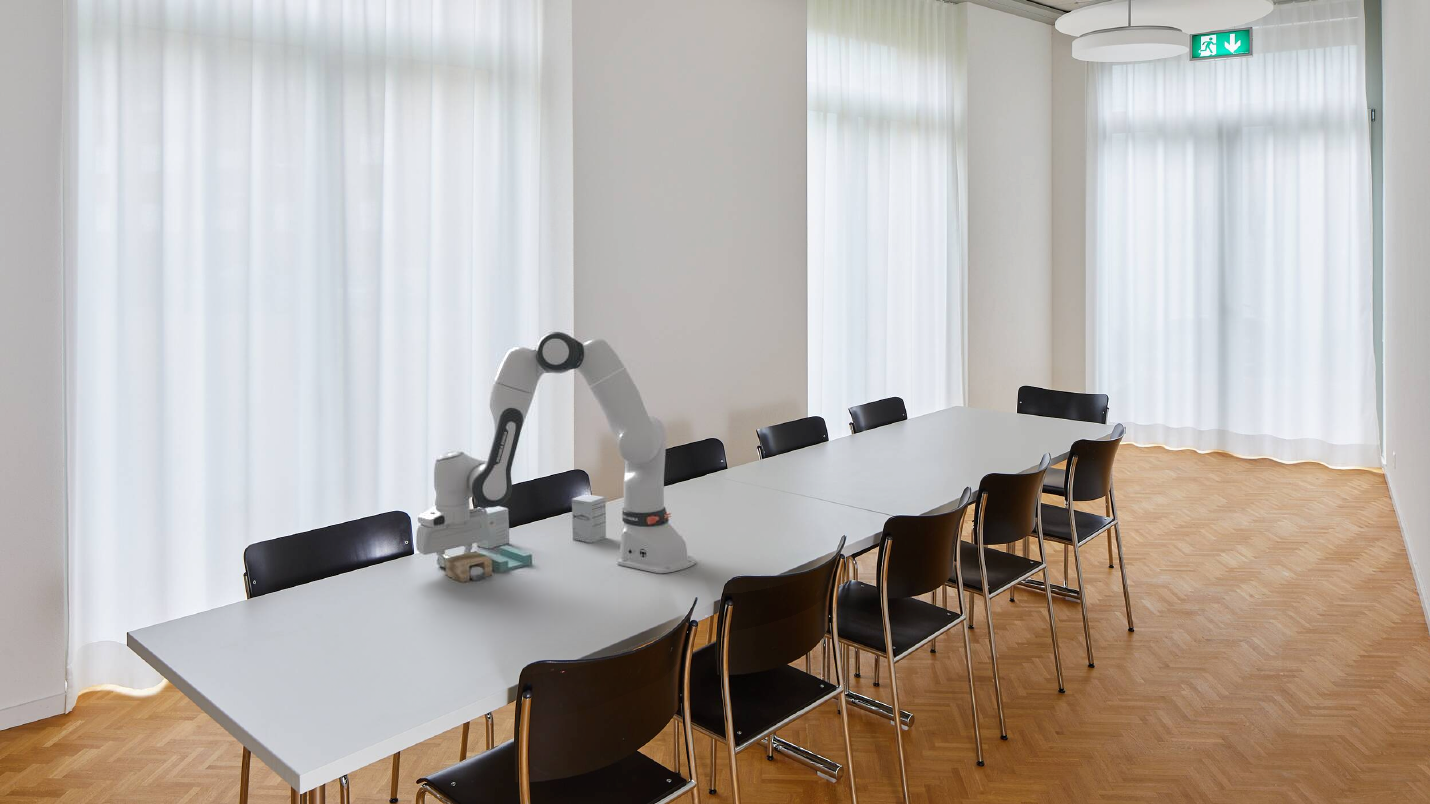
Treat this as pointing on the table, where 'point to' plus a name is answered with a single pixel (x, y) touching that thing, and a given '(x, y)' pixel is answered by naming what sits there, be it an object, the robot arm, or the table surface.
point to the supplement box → (589, 518)
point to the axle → (474, 571)
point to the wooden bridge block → (467, 565)
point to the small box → (497, 527)
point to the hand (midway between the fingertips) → (455, 563)
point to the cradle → (509, 558)
